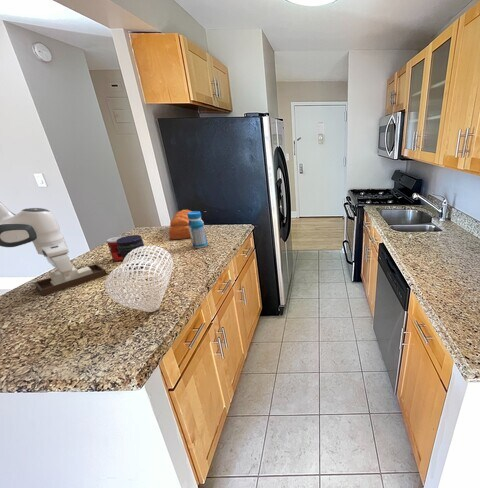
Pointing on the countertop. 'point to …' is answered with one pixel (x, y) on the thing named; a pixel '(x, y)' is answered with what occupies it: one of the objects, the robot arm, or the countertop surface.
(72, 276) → the white block
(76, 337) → the countertop surface
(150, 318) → the countertop surface
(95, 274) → the tray
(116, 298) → the white mesh basket
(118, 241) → the storage jar
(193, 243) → the beverage bottle
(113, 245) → the canned food
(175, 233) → the bread
